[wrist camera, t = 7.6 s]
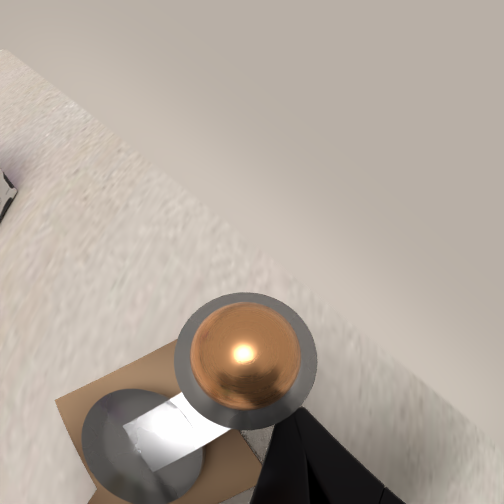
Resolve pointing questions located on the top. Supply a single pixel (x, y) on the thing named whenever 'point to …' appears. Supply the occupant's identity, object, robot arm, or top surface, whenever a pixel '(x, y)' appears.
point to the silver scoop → (202, 397)
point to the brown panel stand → (164, 382)
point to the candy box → (5, 193)
